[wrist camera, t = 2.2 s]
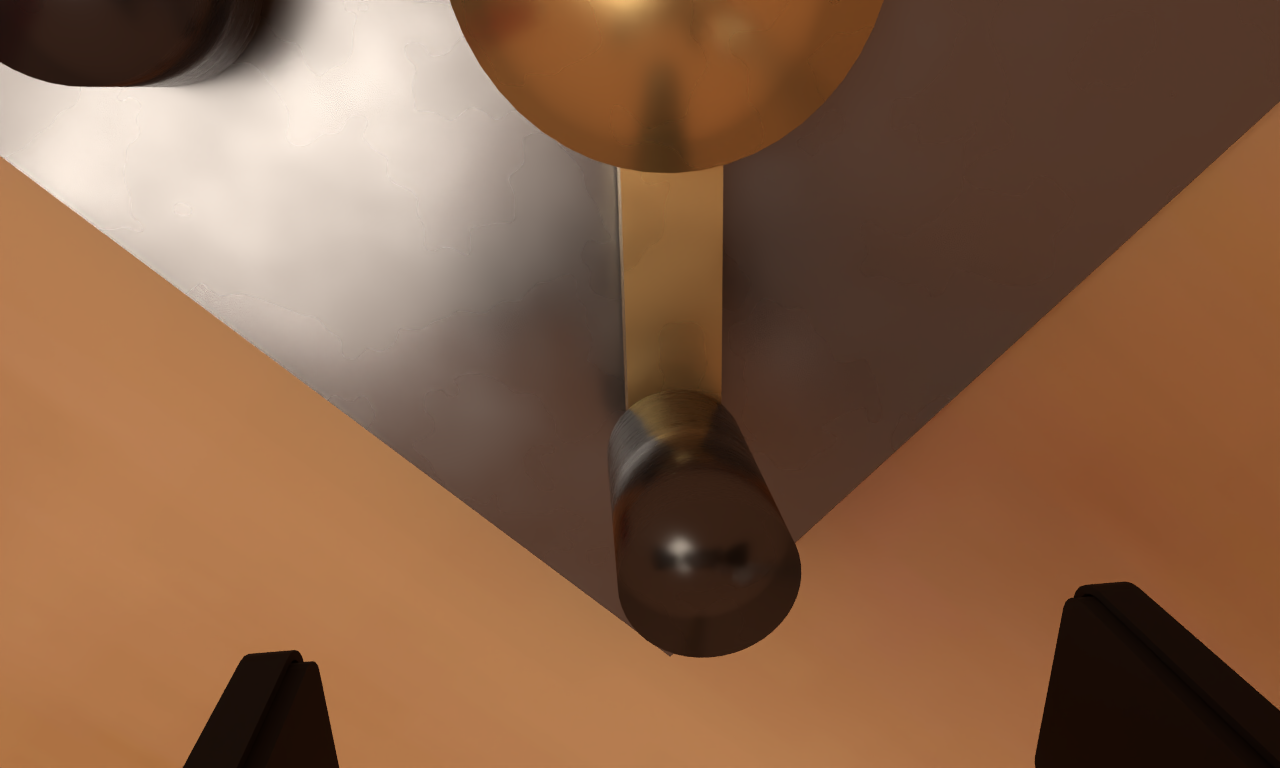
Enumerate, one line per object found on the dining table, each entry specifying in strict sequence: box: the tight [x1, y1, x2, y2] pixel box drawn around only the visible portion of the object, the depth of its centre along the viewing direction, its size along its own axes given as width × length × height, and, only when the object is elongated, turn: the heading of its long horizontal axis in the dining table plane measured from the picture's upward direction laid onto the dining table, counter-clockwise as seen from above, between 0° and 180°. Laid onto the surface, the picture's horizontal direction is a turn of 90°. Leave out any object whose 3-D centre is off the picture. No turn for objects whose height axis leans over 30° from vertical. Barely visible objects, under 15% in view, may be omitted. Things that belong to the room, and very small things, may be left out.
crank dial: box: [450, 0, 884, 658], centre depth 14 cm, size 16×8×7 cm, turn 1°
